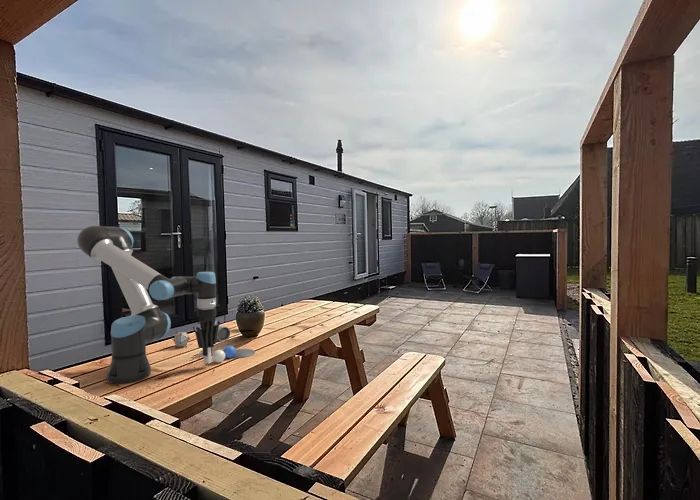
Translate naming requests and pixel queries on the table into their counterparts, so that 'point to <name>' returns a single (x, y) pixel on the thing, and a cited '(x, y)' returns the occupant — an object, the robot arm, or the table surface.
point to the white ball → (218, 356)
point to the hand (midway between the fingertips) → (207, 362)
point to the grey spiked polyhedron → (181, 339)
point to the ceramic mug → (223, 333)
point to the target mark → (243, 353)
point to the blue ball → (229, 351)
